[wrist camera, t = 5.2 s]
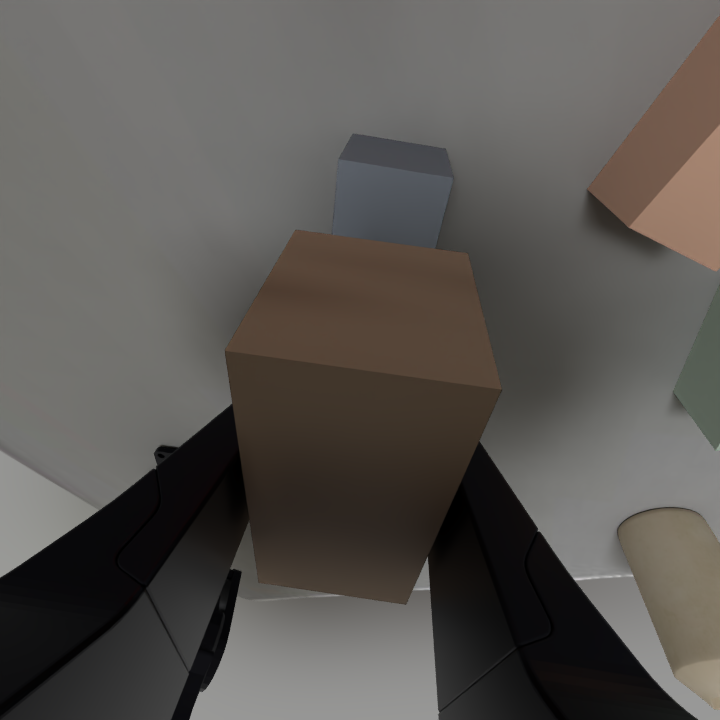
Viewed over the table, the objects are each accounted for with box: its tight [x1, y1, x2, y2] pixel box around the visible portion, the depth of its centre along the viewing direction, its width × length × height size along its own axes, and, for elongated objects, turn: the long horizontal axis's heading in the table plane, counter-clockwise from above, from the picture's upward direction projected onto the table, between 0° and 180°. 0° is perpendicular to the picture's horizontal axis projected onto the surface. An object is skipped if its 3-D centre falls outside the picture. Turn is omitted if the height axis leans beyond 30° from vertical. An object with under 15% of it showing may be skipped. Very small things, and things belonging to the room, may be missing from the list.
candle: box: [618, 508, 720, 710], centre depth 25 cm, size 6×6×10 cm
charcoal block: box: [332, 134, 454, 249], centre depth 16 cm, size 7×4×4 cm, turn 173°
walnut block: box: [225, 230, 502, 605], centre depth 9 cm, size 7×4×4 cm, turn 174°
